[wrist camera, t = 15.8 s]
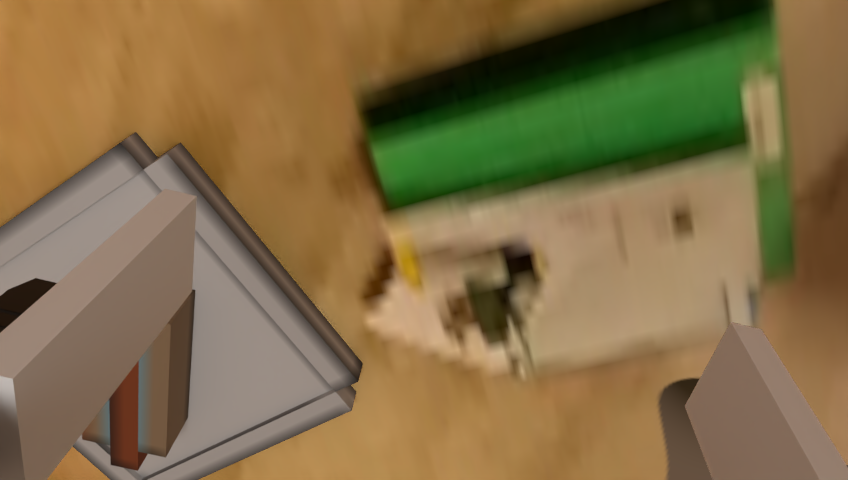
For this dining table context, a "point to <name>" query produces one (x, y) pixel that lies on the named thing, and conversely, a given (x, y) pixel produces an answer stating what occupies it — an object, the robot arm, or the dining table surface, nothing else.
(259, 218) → the dining table surface
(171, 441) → the grey tray
